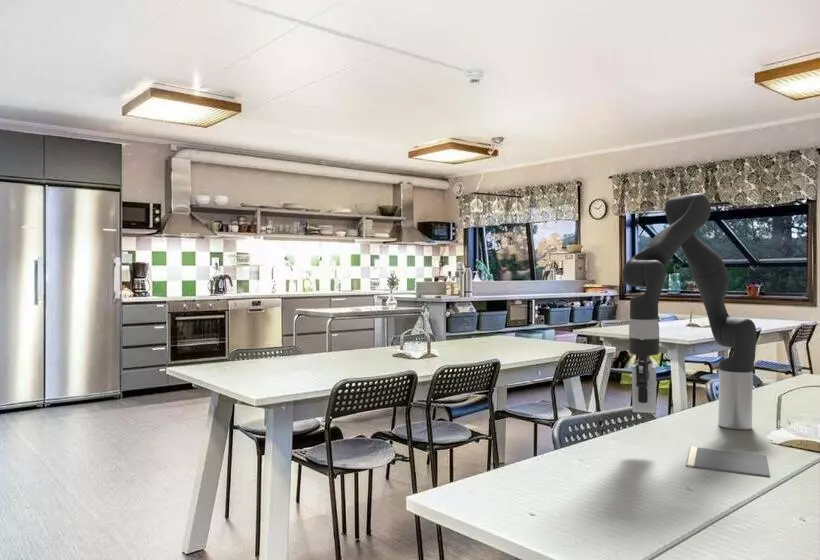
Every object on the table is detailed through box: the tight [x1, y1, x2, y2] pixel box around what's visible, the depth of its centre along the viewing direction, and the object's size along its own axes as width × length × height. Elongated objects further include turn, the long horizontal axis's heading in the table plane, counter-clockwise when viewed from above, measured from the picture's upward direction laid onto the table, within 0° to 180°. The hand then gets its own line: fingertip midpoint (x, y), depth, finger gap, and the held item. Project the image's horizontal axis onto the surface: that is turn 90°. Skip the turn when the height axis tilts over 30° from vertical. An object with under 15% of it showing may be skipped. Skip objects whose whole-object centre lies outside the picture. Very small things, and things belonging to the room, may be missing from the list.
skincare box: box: [631, 364, 658, 414], centre depth 172 cm, size 6×4×12 cm
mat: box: [685, 446, 771, 478], centre depth 163 cm, size 18×18×1 cm
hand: (644, 400), depth 172 cm, fingers closed on skincare box, 4 cm apart
